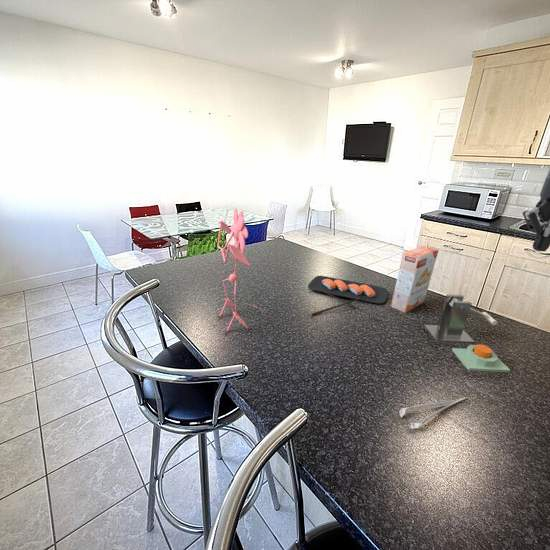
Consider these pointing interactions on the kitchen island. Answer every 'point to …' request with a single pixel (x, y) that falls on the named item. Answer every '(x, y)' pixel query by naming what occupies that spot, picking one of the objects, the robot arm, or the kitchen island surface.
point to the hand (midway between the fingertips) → (539, 250)
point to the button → (482, 351)
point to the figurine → (239, 234)
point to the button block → (479, 360)
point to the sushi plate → (348, 291)
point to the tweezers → (428, 406)
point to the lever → (478, 313)
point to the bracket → (452, 321)
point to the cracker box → (414, 278)
